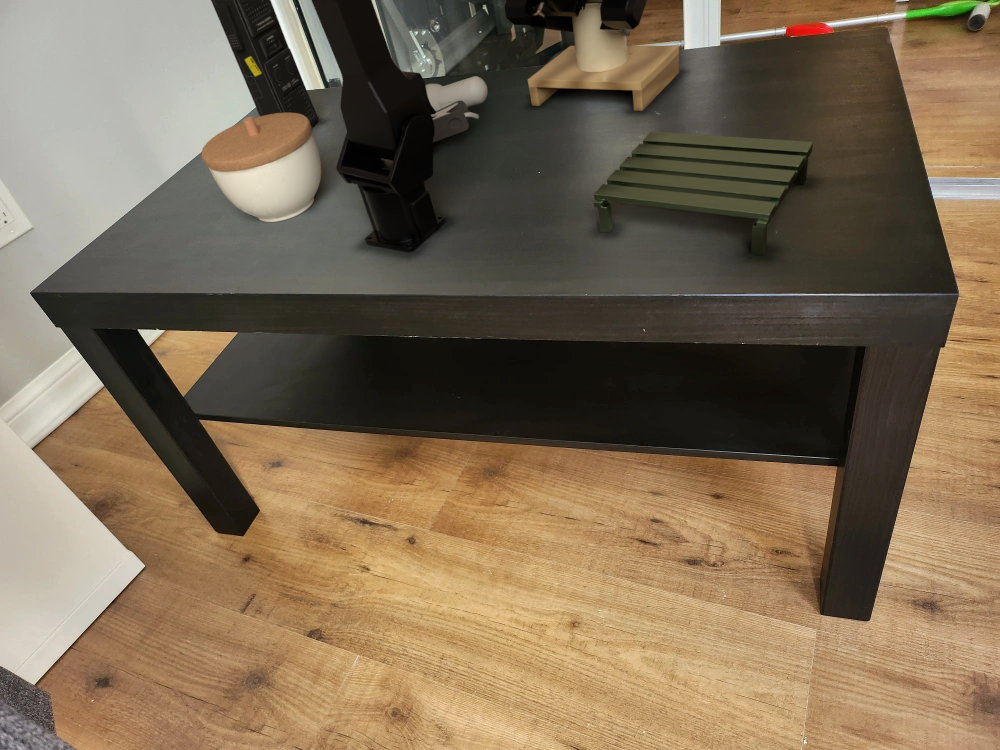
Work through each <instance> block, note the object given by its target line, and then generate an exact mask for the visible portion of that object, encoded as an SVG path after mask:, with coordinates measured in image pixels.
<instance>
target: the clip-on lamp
mask: <svg viewBox="0 0 1000 750" xmlns="http://www.w3.org/2000/svg"><path fill="white" fill-rule="evenodd" d="M425 86H426V91H427V95H428V99H429V101H430V104H431V106H432V107H433V108H434V109H435V111H436V114H431V116H432V118H433V123H434V127H435V135H434V137H433V143H435V142H438V141H441V140H443V139H446V138H449V137H452V136H454V135H458V134H460V133H463V132H465V131H467V130H468V129H469V126H470V123H469V121H468V120H470V118H473V119H476V120H479V118H480V115H479V114H478V113H474V112H471V111H470V110H469V108H471V107H474V106H477V105H480V104H483V103H485V101H487V100H486V99H487V97H488V91H489V90H488V86H487V83H486V82H485V80H484V79H483V78H481V77H479V76H477V75H474V76H470V77H468V78H465V79H461V80H459V81H455V82H452V83H448V84H445V85H441V84H439V83H428V84H425Z"/></svg>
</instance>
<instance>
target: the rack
mask: <svg viewBox="0 0 1000 750" xmlns="http://www.w3.org/2000/svg"><path fill="white" fill-rule="evenodd" d="M813 146H814V141H806V140H805V141H804V140H789V139H788V140H787V139H775V138H774V139H773V138H756V137H743V136H742V137H740V136H726V135H710V134H694V133H680V132H679V133H676V132H661V131H649V133H648V134H647V135H646V136H644V138H643V139H642V143H639V144H638V145H637V146H636V147H635V148H634V149H633V150H632V151H631V153H630V154H631V156H627V157H625V159H624V160H622V162H621V163H620V164H619V167H618V168H619V169H615V170H614V171H613V172H612V173H611V174H610V175H609V177H607V179H606V183H602V184H601V185H600V186H599V188H597V189H596V191H595V192H594V193H593V199H594V201H593V202H592V203H593V207H594V208H595V209H597V214H598V223H599V232H600V233H605V234H610V233H611V232H612V230H613V229H614V220H613V219H614V217H613V209H612V203H613V202H614V203H619V204H620V203H622V204H628V205H629V204H630V205H639V206H646V207H654V208H661V209H662V208H663V209H672V210H679V211H680V210H681V211H688V212H695V213H705V214H713V215H719V216H722V215H723V216H727V217H729V216H730V217H737V218H744V219H745V218H746V219H754V220H755V221H754V222H753V224H752V226H751V227H752V228H751V244H750V247H751V248H750V254H751V255H756V256H764V254H765V253H766V251H767V243H768V242H767V241H768V226H769V225H770V223H771V221H772V219H773V218H774V216H775V214H776V213H777V211H778V209H779V207H780V206H781V204H782V203H783V202H784V199H785V198H786V196H787V194H788V193H789V191H790V189H791V188H792V186H793V185H795V186H796V185H797V186H804V184H805V183H806V181H807V175H808V165H809V157H810V156H811V154H812V152H813V148H814V147H813Z"/></svg>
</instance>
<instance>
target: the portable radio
mask: <svg viewBox="0 0 1000 750" xmlns="http://www.w3.org/2000/svg"><path fill="white" fill-rule="evenodd" d="M210 2H211V4H212V6H213V8H214V12H215V13H216V15H217V18H218V20H219V23H220V25H221V27H222V31H223V32H224V34H225V37H226V39H227V42H228V44H229V46H230V49H231V52H232V54H233V56H234V58H235V61H236V64H237V66H238V68H239V71H240V72H241V75H242V77H243V80H244V83H245V84H246V87H247V89H248V91H249V93H250V96H251V98H252V101H253V103H254V106H255V108H256V111H257V113H258V115H259V116H258V117H260V116H264V115H269V114H275V113H298V114H302V115H304V116H305V117H307V118H308V120H309V122H310V124H311V127H314V126H315V125H316V124H317V123H318V122H319V119H320V118H319V116H318V113H317V110H316V108H315V106H314V104H313V102H312V100H311V97H310V95H309V92H308V90H307V87H306V85H305V83H304V80H303V78H302V75H301V72H300V70H299V67H298V65H297V63H296V60H295V57H294V55H293V52H292V50H291V48H290V47H289V45H288V42H287V40H286V37H285V35H284V32H283V29H282V27H281V24H280V21H279V19H278V16H277V13H276V11H275V7H274V6H273V5H274V4H273V3H272V0H210Z"/></svg>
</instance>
